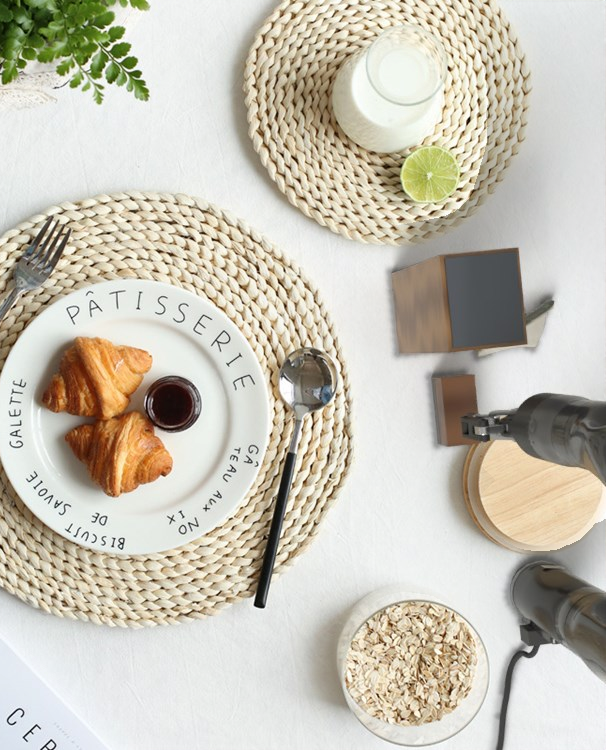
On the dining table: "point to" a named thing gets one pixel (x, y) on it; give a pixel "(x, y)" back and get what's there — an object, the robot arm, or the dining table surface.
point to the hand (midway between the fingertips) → (502, 417)
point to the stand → (433, 306)
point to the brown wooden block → (453, 407)
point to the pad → (484, 299)
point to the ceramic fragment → (528, 328)
